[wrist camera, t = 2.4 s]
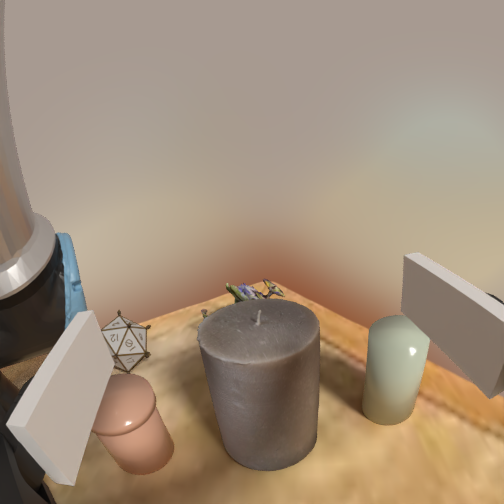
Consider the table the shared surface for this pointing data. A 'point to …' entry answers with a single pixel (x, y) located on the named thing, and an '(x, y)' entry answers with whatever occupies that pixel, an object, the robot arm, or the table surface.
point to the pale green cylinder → (393, 369)
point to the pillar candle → (263, 380)
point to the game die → (126, 342)
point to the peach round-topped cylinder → (133, 425)
